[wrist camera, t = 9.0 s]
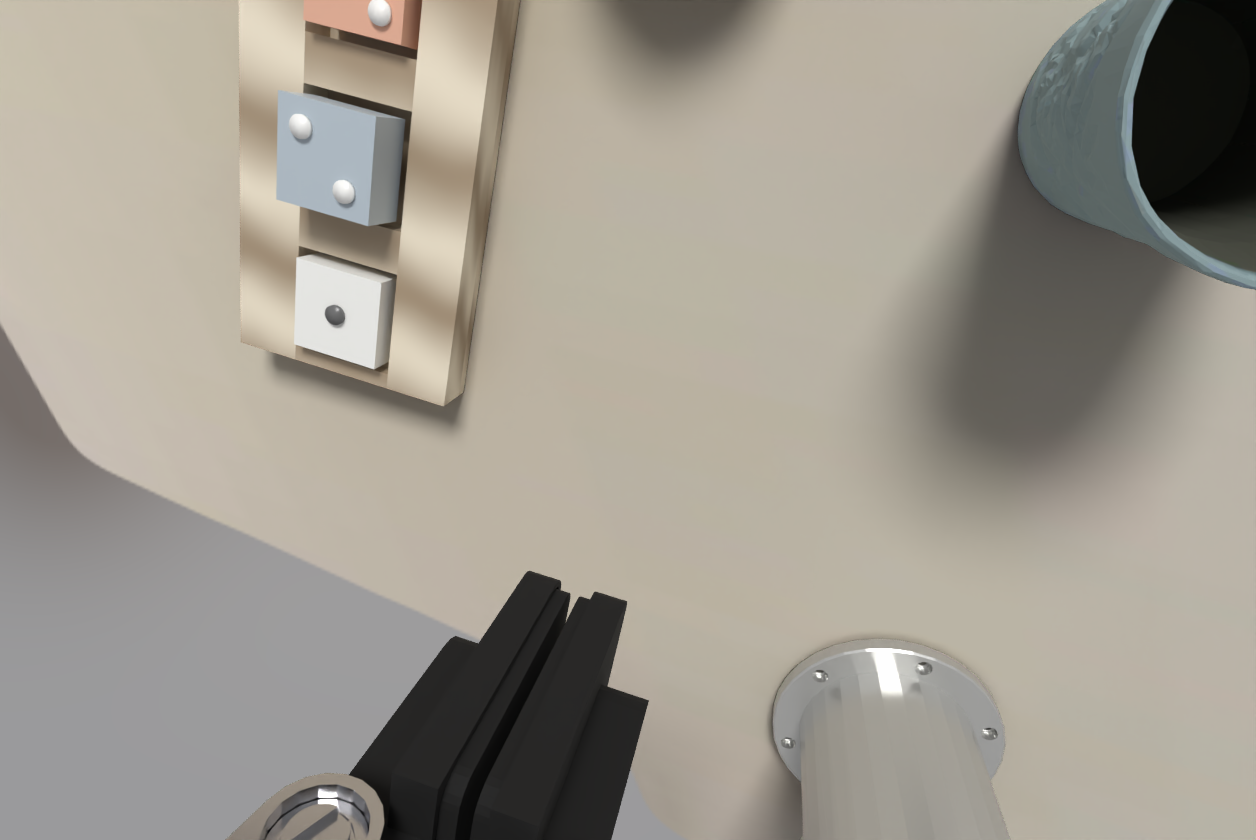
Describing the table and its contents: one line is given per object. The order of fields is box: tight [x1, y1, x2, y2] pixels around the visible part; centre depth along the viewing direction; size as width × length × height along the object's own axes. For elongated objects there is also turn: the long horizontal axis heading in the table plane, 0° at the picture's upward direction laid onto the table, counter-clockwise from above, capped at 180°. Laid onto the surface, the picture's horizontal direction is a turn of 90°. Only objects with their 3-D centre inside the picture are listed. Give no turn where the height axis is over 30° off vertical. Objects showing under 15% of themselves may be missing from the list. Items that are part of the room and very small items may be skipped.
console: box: [239, 0, 520, 407], centre depth 32 cm, size 22×12×2 cm, turn 166°
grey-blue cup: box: [1018, 0, 1256, 290], centre depth 21 cm, size 10×10×12 cm
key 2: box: [276, 90, 405, 226], centre depth 30 cm, size 5×5×3 cm
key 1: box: [294, 252, 397, 369], centre depth 35 cm, size 5×5×3 cm
